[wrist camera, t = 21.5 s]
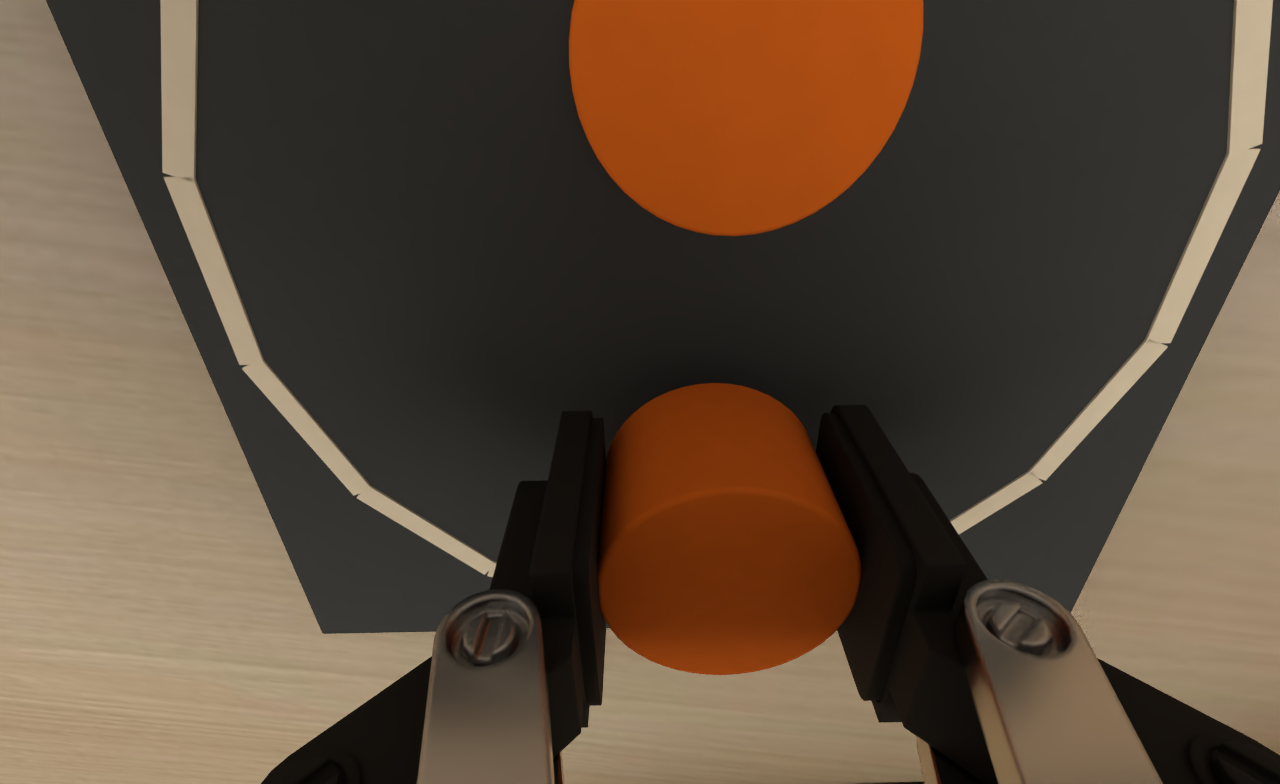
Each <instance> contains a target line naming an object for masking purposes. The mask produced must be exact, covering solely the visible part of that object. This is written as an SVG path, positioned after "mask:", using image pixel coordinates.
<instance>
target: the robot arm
mask: <svg viewBox="0 0 1280 784" xmlns="http://www.w3.org/2000/svg"><path fill="white" fill-rule="evenodd" d="M816 454H817V456H818V458H819V461H820V463H821V465H822V468H823V470H824V472H825V475H826V477H827V479H828V481H829V484H830V486H831V488H832V491H833V493H834V495H835V498H836V500H837V502H838V504H839V507H840V509H841V511H842V514H843V516H844V518H845V521H846V523H847V525H848V527H849V530H850V532H851V534H852V537H853V539H854V541H855V544H856V546H857V548H858V551H859V555H860V559H861V580H860V584H859V589H858V594H857V598H856V602H855V605H854V607H853V608H852V610H851V612H850V614H849V615H848V617H847V618H846V620H845V621H844V622H843V624H842V625H841V626H840V627H839V628H838V629H837V631H838V634H839V637H840V639H841V642H842V645H843V648H844V651H845V654H846V657H847V660H848V663H849V666H850V669H851V672H852V675H853V678H854V681H855V684H856V687H857V690H858V692H859V695H860V697H861V698H862V699H863V700H864V701H868V700H871V701H872V703H873V706H874V709H875V712H876V715H877V718H878V720H879V722H902V723H903V726H904V727H905V728H906V729H907V730H909V731H910V732H912V733H913V734H915V735H916V736H917V749H918V754H919V758H920V763H921V768H922V773H923V778H924V783H925V784H1280V756H1279V755H1278V754H1276V753H1275V752H1273V751H1272V750H1270V749H1268V748H1267V747H1265V746H1263V745H1262V744H1260V743H1258V742H1257V741H1255V740H1254V739H1252V738H1250V737H1248V736H1246V735H1244V734H1242V733H1240V732H1238V731H1236V730H1234V729H1232V728H1230V727H1229V726H1227V725H1225V724H1223V723H1221V722H1219V721H1217V720H1215V719H1213V718H1211V717H1209V716H1207V715H1205V714H1204V713H1202V712H1200V711H1198V710H1196V709H1194V708H1192V707H1190V706H1188V705H1186V704H1184V703H1182V702H1180V701H1179V700H1177V699H1175V698H1173V697H1171V696H1169V695H1167V694H1165V693H1163V692H1161V691H1159V690H1157V689H1155V688H1154V687H1152V686H1150V685H1148V684H1146V683H1144V682H1142V681H1140V680H1138V679H1136V678H1134V677H1132V676H1130V675H1129V674H1127V673H1125V672H1123V671H1121V670H1119V669H1117V668H1115V667H1113V666H1111V665H1109V664H1107V663H1105V662H1104V661H1102V660H1100V659H1098V658H1097V657H1096V655H1095V653H1094V651H1093V650H1092V648H1091V646H1090V644H1089V642H1088V640H1087V638H1086V636H1085V634H1084V632H1083V631H1082V629H1081V627H1080V625H1079V624H1078V623H1077V621H1076V620H1075V618H1074V617H1073V616H1072V614H1071V613H1070V612H1069V611H1068V610H1066V609H1065V608H1064V607H1063V606H1062V605H1061V604H1060V603H1059V602H1058V601H1056V600H1055V599H1053V598H1051V597H1050V596H1048V595H1046V594H1045V593H1043V592H1042V591H1040V590H1037V589H1035V588H1032V587H1030V586H1028V585H1025V584H1023V583H1018V582H1014V581H1009V580H996V579H989V580H988V579H987V577H986V576H985V574H984V573H983V571H982V570H981V568H980V567H979V565H978V563H977V562H976V560H975V559H974V557H973V556H972V554H971V553H970V551H969V550H968V548H967V547H966V545H965V543H964V542H963V540H962V539H961V537H960V536H959V534H958V533H957V531H956V530H955V528H954V527H953V525H952V524H951V522H950V520H949V519H948V517H947V516H946V514H945V513H944V511H943V510H942V508H941V507H940V505H939V504H938V502H937V501H936V499H935V497H934V496H933V494H932V493H931V491H930V490H929V488H928V487H927V485H926V484H925V482H924V481H923V479H922V478H921V477H920V476H919V475H918V474H915V473H909V471H908V470H907V468H906V466H905V465H904V463H903V462H902V460H901V458H900V457H899V455H898V454H897V452H896V451H895V449H894V447H893V446H892V444H891V443H890V441H889V439H888V438H887V436H886V435H885V433H884V432H883V430H882V428H881V427H880V425H879V424H878V422H877V420H876V419H875V417H874V416H873V414H872V413H871V411H870V409H869V408H868V407H867V406H866V405H835V406H833V408H832V410H831V413H823V414H822V417H821V421H820V427H819V434H818V440H817V447H816ZM605 470H606V451H605V435H604V421H603V418H593V415H592V411H563V412H562V414H561V419H560V423H559V428H558V433H557V438H556V443H555V448H554V453H553V458H552V462H551V467H550V472H549V477H548V480H540V481H521V482H520V483H519V484H518V487H517V490H516V493H515V497H514V501H513V504H512V508H511V512H510V515H509V519H508V523H507V527H506V530H505V534H504V538H503V541H502V545H501V549H500V552H499V556H498V560H497V563H496V567H495V571H494V574H493V578H492V582H491V586H490V589H489V590H486V591H482V592H479V593H475V594H473V595H471V596H469V597H467V598H465V599H463V600H462V601H460V602H458V603H457V604H456V605H455V606H454V607H453V608H452V609H450V610H449V611H448V612H447V613H446V615H445V616H444V618H443V619H442V621H441V622H440V624H439V625H438V628H437V631H436V635H435V638H434V644H433V653H432V657H430V658H429V659H427V660H426V661H425V662H423V663H422V664H420V665H419V666H417V667H416V668H415V669H413V670H412V671H410V672H409V673H407V674H406V675H404V676H403V677H402V678H400V679H399V680H397V681H396V682H394V683H393V684H392V685H390V686H389V687H387V688H386V689H384V690H383V691H382V692H380V693H379V694H377V695H376V696H374V697H373V698H371V699H370V700H369V701H367V702H366V703H364V704H363V705H361V706H360V707H359V708H357V709H356V710H354V711H353V712H351V713H350V714H349V715H347V716H346V717H344V718H343V719H341V720H340V721H338V722H337V723H336V724H334V725H333V726H331V727H330V728H328V729H327V730H326V731H324V732H323V733H321V734H320V735H318V736H317V737H315V738H314V739H313V740H311V741H310V742H308V743H307V744H305V745H304V746H303V747H301V748H300V749H298V750H297V751H295V752H294V753H293V754H291V755H290V756H288V757H287V758H286V759H285V760H284V761H283V762H281V763H280V764H279V765H278V766H277V767H275V768H274V769H273V770H272V771H271V772H270V773H269V774H268V776H267V777H266V778H265V779H264V781H263V782H262V783H261V784H564V774H563V762H562V750H563V749H564V748H565V747H566V746H567V745H568V744H569V743H570V742H571V741H573V740H574V739H575V738H576V737H577V736H578V735H579V734H580V733H581V727H588V718H589V705H601V704H602V692H603V673H604V655H605V636H606V620H605V619H604V617H603V614H602V612H601V607H600V596H599V583H598V563H599V550H600V537H601V523H602V510H603V497H604V484H605Z"/></svg>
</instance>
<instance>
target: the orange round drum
mask: <svg viewBox="0 0 1280 784" xmlns="http://www.w3.org/2000/svg"><path fill="white" fill-rule="evenodd" d="M860 580H861V559H860V555H859V551H858V548H857V546H856V544H855V541H854V539H853V537H852V534H851V532H850V530H849V527H848V525H847V523H846V521H845V518H844V516H843V514H842V511H841V509H840V507H839V504H838V502H837V500H836V498H835V495H834V493H833V491H832V488H831V486H830V484H829V481H828V479H827V477H826V475H825V472H824V470H823V468H822V465H821V463H820V461H819V458H818V456H817V454H816V452H815V449H814V447H813V445H812V442H811V440H810V438H809V436H808V434H807V431H806V429H805V428H804V426H803V425H802V423H801V422H800V420H799V419H798V418H797V417H796V416H795V415H794V414H793V412H792V411H791V410H790V409H788V408H787V407H786V406H785V405H783V404H782V403H781V402H779V401H778V400H776V399H774V398H772V397H771V396H769V395H767V394H764V393H762V392H760V391H757V390H755V389H752V388H748V387H744V386H740V385H734V384H727V383H705V384H696V385H690V386H685V387H681V388H678V389H675V390H672V391H669V392H667V393H664V394H662V395H660V396H658V397H656V398H654V399H653V400H651V401H649V402H648V403H646V404H644V405H643V406H642V407H641V408H639V409H638V410H637V411H635V412H634V413H633V414H632V415H631V416H630V417H629V418H628V419H627V420H626V421H625V422H624V424H623V425H622V426H621V428H620V429H619V430H618V432H617V433H616V435H615V437H614V439H613V440H612V442H611V445H610V447H609V450H608V453H607V457H606V470H605V484H604V497H603V510H602V523H601V537H600V550H599V563H598V583H599V596H600V607H601V612H602V614H603V617H604V619H605V620H606V622H607V624H608V625H609V627H610V629H611V630H612V631H613V632H614V633H615V635H616V636H617V637H618V638H619V639H620V640H621V641H622V642H623V643H624V644H625V645H627V646H628V647H629V648H631V649H632V650H633V651H635V652H636V653H638V654H639V655H641V656H643V657H645V658H647V659H649V660H651V661H653V662H655V663H658V664H660V665H663V666H666V667H669V668H673V669H676V670H681V671H686V672H691V673H699V674H711V675H727V674H741V673H748V672H754V671H759V670H763V669H768V668H771V667H774V666H777V665H780V664H783V663H786V662H788V661H791V660H793V659H795V658H798V657H800V656H801V655H803V654H805V653H807V652H809V651H811V650H812V649H814V648H815V647H817V646H818V645H820V644H821V643H823V642H824V641H825V640H826V639H827V638H829V637H830V636H831V635H832V634H833V633H834V632H835V631H836V630H837V629H838V628H839V627H840V626H841V625H842V624H843V622H844V621H845V620H846V618H847V617H848V615H849V614H850V612H851V610H852V608H853V607H854V605H855V602H856V598H857V594H858V589H859V584H860Z"/></svg>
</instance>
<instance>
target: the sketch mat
mask: <svg viewBox="0 0 1280 784" xmlns="http://www.w3.org/2000/svg"><path fill="white" fill-rule="evenodd" d="M46 1H47V4H48V6H49V8H50V11H51V13H52V15H53V17H54V20H55V22H56V24H57V27H58V29H59V31H60V34H61V36H62V38H63V40H64V43H65V45H66V47H67V50H68V52H69V54H70V56H71V59H72V61H73V63H74V66H75V68H76V70H77V72H78V75H79V77H80V79H81V82H82V84H83V86H84V88H85V91H86V93H87V95H88V98H89V100H90V102H91V104H92V107H93V109H94V111H95V114H96V116H97V118H98V120H99V123H100V125H101V127H102V130H103V132H104V134H105V136H106V139H107V141H108V143H109V146H110V148H111V150H112V152H113V155H114V157H115V159H116V162H117V164H118V166H119V168H120V171H121V173H122V175H123V178H124V180H125V182H126V185H127V187H128V189H129V191H130V194H131V196H132V198H133V201H134V203H135V205H136V207H137V210H138V212H139V214H140V217H141V219H142V221H143V223H144V226H145V228H146V230H147V233H148V235H149V237H150V239H151V242H152V244H153V246H154V249H155V251H156V253H157V255H158V258H159V260H160V262H161V265H162V267H163V269H164V271H165V274H166V276H167V278H168V281H169V283H170V285H171V287H172V290H173V292H174V294H175V297H176V299H177V301H178V303H179V306H180V308H181V310H182V313H183V315H184V317H185V320H186V322H187V324H188V326H189V329H190V331H191V333H192V336H193V338H194V340H195V342H196V345H197V347H198V349H199V352H200V354H201V356H202V358H203V361H204V363H205V365H206V368H207V370H208V372H209V374H210V377H211V379H212V381H213V384H214V386H215V388H216V390H217V393H218V395H219V397H220V400H221V402H222V404H223V406H224V409H225V411H226V413H227V416H228V418H229V420H230V422H231V425H232V427H233V429H234V432H235V434H236V436H237V438H238V441H239V443H240V445H241V448H242V450H243V452H244V454H245V457H246V459H247V461H248V464H249V466H250V468H251V471H252V473H253V475H254V477H255V480H256V482H257V484H258V487H259V489H260V491H261V493H262V496H263V498H264V500H265V503H266V505H267V507H268V509H269V512H270V514H271V516H272V519H273V521H274V523H275V525H276V528H277V530H278V532H279V535H280V537H281V539H282V541H283V544H284V546H285V548H286V551H287V553H288V555H289V557H290V560H291V562H292V564H293V567H294V569H295V571H296V573H297V576H298V578H299V580H300V583H301V585H302V587H303V589H304V592H305V594H306V596H307V599H308V601H309V603H310V605H311V608H312V610H313V612H314V615H315V617H316V619H317V622H318V624H319V626H320V628H321V631H322V633H324V634H330V633H380V632H430V631H437V628H438V625H439V624H440V622H441V621H442V619H443V618H444V616H445V615H446V613H447V612H448V611H449V610H450V609H452V608H453V607H454V606H455V605H456V604H457V603H458V602H460V601H462V600H463V599H465V598H467V597H469V596H471V595H473V594H475V593H479V592H482V591H486V590H489V589H490V586H491V582H492V578H493V574H494V571H495V567H496V563H497V560H498V556H499V552H500V549H501V545H502V541H503V538H504V534H505V530H506V527H507V523H508V519H509V515H510V512H511V508H512V504H513V501H514V497H515V493H516V490H517V487H518V484H519V483H520V482H521V481H540V480H548V477H549V472H550V467H551V462H552V458H553V453H554V448H555V443H556V438H557V433H558V428H559V423H560V419H561V414H562V412H563V411H592V415H593V418H603V421H604V435H605V451H606V457H607V453H608V450H609V447H610V445H611V442H612V440H613V439H614V437H615V435H616V433H617V432H618V430H619V429H620V428H621V426H622V425H623V424H624V422H625V421H626V420H627V419H628V418H629V417H630V416H631V415H632V414H633V413H634V412H635V411H637V410H638V409H639V408H641V407H642V406H643V405H644V404H646V403H648V402H649V401H651V400H653V399H654V398H656V397H658V396H660V395H662V394H664V393H667V392H669V391H672V390H675V389H678V388H681V387H685V386H690V385H696V384H705V383H727V384H734V385H740V386H744V387H748V388H752V389H755V390H757V391H760V392H762V393H764V394H767V395H769V396H771V397H772V398H774V399H776V400H778V401H779V402H781V403H782V404H783V405H785V406H786V407H787V408H788V409H790V410H791V411H792V412H793V414H794V415H795V416H796V417H797V418H798V419H799V420H800V422H801V423H802V425H803V426H804V428H805V429H806V431H807V434H808V436H809V438H810V440H811V442H812V445H813V447H814V449H815V452H816V447H817V440H818V434H819V427H820V421H821V417H822V414H823V413H831V410H832V408H833V406H835V405H866V406H867V407H868V408H869V409H870V411H871V413H872V414H873V416H874V417H875V419H876V420H877V422H878V424H879V425H880V427H881V428H882V430H883V432H884V433H885V435H886V436H887V438H888V439H889V441H890V443H891V444H892V446H893V447H894V449H895V451H896V452H897V454H898V455H899V457H900V458H901V460H902V462H903V463H904V465H905V466H906V468H907V470H908V471H909V473H915V474H918V475H919V476H920V477H921V478H922V479H923V481H924V482H925V484H926V485H927V487H928V488H929V490H930V491H931V493H932V494H933V496H934V497H935V499H936V501H937V502H938V504H939V505H940V507H941V508H942V510H943V511H944V513H945V514H946V516H947V517H948V519H949V520H950V522H951V524H952V525H953V527H954V528H955V530H956V531H957V533H958V534H959V536H960V537H961V539H962V540H963V542H964V543H965V545H966V547H967V548H968V550H969V551H970V553H971V554H972V556H973V557H974V559H975V560H976V562H977V563H978V565H979V567H980V568H981V570H982V571H983V573H984V574H985V576H986V577H987V579H988V580H989V579H996V580H1009V581H1014V582H1018V583H1023V584H1025V585H1028V586H1030V587H1032V588H1035V589H1037V590H1040V591H1042V592H1043V593H1045V594H1046V595H1048V596H1050V597H1051V598H1053V599H1055V600H1056V601H1058V602H1059V603H1060V604H1061V605H1062V606H1063V607H1064V608H1065V609H1066V610H1068V611H1069V612H1070V613H1071V611H1072V609H1073V607H1074V605H1075V603H1076V601H1077V599H1078V597H1079V595H1080V593H1081V591H1082V589H1083V587H1084V585H1085V582H1086V580H1087V578H1088V576H1089V574H1090V572H1091V570H1092V568H1093V566H1094V564H1095V562H1096V560H1097V558H1098V556H1099V554H1100V552H1101V550H1102V548H1103V546H1104V544H1105V542H1106V540H1107V538H1108V536H1109V534H1110V532H1111V530H1112V528H1113V526H1114V524H1115V522H1116V520H1117V518H1118V516H1119V514H1120V512H1121V510H1122V508H1123V506H1124V504H1125V502H1126V500H1127V498H1128V496H1129V494H1130V492H1131V490H1132V488H1133V486H1134V484H1135V482H1136V480H1137V477H1138V475H1139V473H1140V471H1141V469H1142V467H1143V465H1144V463H1145V461H1146V459H1147V457H1148V455H1149V453H1150V451H1151V449H1152V447H1153V445H1154V443H1155V441H1156V439H1157V437H1158V435H1159V433H1160V431H1161V429H1162V427H1163V425H1164V423H1165V421H1166V419H1167V417H1168V415H1169V413H1170V411H1171V409H1172V407H1173V405H1174V403H1175V401H1176V399H1177V397H1178V395H1179V393H1180V391H1181V389H1182V387H1183V385H1184V383H1185V381H1186V379H1187V377H1188V374H1189V372H1190V370H1191V368H1192V366H1193V364H1194V362H1195V360H1196V358H1197V356H1198V354H1199V352H1200V350H1201V348H1202V346H1203V344H1204V342H1205V340H1206V338H1207V336H1208V334H1209V332H1210V330H1211V328H1212V326H1213V324H1214V322H1215V320H1216V318H1217V316H1218V314H1219V312H1220V310H1221V308H1222V306H1223V304H1224V302H1225V300H1226V298H1227V296H1228V294H1229V292H1230V290H1231V288H1232V286H1233V284H1234V282H1235V280H1236V278H1237V276H1238V274H1239V272H1240V269H1241V267H1242V265H1243V263H1244V261H1245V259H1246V257H1247V255H1248V253H1249V251H1250V249H1251V247H1252V245H1253V243H1254V241H1255V239H1256V237H1257V235H1258V233H1259V231H1260V229H1261V227H1262V225H1263V223H1264V221H1265V219H1266V217H1267V215H1268V213H1269V211H1270V209H1271V207H1272V205H1273V203H1274V201H1275V199H1276V197H1277V195H1278V193H1279V191H1280V0H923V36H922V44H921V52H920V59H919V63H918V67H917V71H916V75H915V79H914V83H913V86H912V89H911V92H910V94H909V97H908V100H907V103H906V106H905V108H904V110H903V112H902V114H901V116H900V118H899V121H898V123H897V125H896V127H895V129H894V131H893V132H892V134H891V136H890V137H889V139H888V140H887V142H886V144H885V145H884V147H883V148H882V150H881V152H880V153H879V154H878V155H877V157H876V158H875V159H874V161H873V162H872V163H871V164H870V166H869V167H868V168H867V169H866V171H865V172H864V173H863V174H862V175H861V176H860V177H859V178H858V179H857V180H856V181H855V182H854V183H853V184H852V185H851V186H850V187H849V188H848V189H847V190H845V191H844V192H843V193H842V194H841V195H839V196H838V197H837V198H836V199H834V200H833V201H832V202H830V203H829V204H827V205H826V206H824V207H823V208H821V209H820V210H818V211H817V212H815V213H813V214H812V215H810V216H807V217H805V218H803V219H801V220H799V221H797V222H795V223H793V224H790V225H787V226H784V227H782V228H779V229H776V230H772V231H768V232H763V233H759V234H754V235H742V236H717V235H709V234H703V233H698V232H693V231H690V230H687V229H684V228H681V227H678V226H675V225H673V224H671V223H669V222H666V221H664V220H662V219H660V218H658V217H656V216H655V215H653V214H652V213H650V212H649V211H647V210H646V209H644V208H642V207H641V206H640V205H638V204H637V203H636V202H635V201H634V200H633V199H631V198H630V197H629V196H628V195H627V194H626V193H624V191H623V190H622V189H621V188H620V187H619V186H618V185H617V184H616V183H615V181H614V180H613V179H612V178H611V177H610V176H609V174H608V173H607V171H606V170H605V168H604V167H603V166H602V164H601V163H600V161H599V160H598V158H597V156H596V155H595V153H594V151H593V149H592V147H591V145H590V143H589V141H588V139H587V137H586V134H585V132H584V129H583V127H582V124H581V121H580V119H579V116H578V112H577V108H576V104H575V100H574V96H573V92H572V85H571V77H570V69H569V33H570V23H571V13H572V9H573V4H574V0H46ZM606 628H610V627H609V625H608V624H607V622H606Z"/></svg>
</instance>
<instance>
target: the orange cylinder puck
mask: <svg viewBox="0 0 1280 784" xmlns="http://www.w3.org/2000/svg"><path fill="white" fill-rule="evenodd" d="M922 36H923V0H574V4H573V9H572V13H571V23H570V33H569V69H570V77H571V85H572V92H573V96H574V100H575V104H576V108H577V112H578V116H579V119H580V121H581V124H582V127H583V129H584V132H585V134H586V137H587V139H588V141H589V143H590V145H591V147H592V149H593V151H594V153H595V155H596V156H597V158H598V160H599V161H600V163H601V164H602V166H603V167H604V168H605V170H606V171H607V173H608V174H609V176H610V177H611V178H612V179H613V180H614V181H615V183H616V184H617V185H618V186H619V187H620V188H621V189H622V190H623V191H624V193H626V194H627V195H628V196H629V197H630V198H631V199H633V200H634V201H635V202H636V203H637V204H638V205H640V206H641V207H642V208H644V209H646V210H647V211H649V212H650V213H652V214H653V215H655V216H656V217H658V218H660V219H662V220H664V221H666V222H669V223H671V224H673V225H675V226H678V227H681V228H684V229H687V230H690V231H693V232H698V233H703V234H709V235H717V236H742V235H754V234H759V233H763V232H768V231H772V230H776V229H779V228H782V227H784V226H787V225H790V224H793V223H795V222H797V221H799V220H801V219H803V218H805V217H807V216H810V215H812V214H813V213H815V212H817V211H818V210H820V209H821V208H823V207H824V206H826V205H827V204H829V203H830V202H832V201H833V200H834V199H836V198H837V197H838V196H839V195H841V194H842V193H843V192H844V191H845V190H847V189H848V188H849V187H850V186H851V185H852V184H853V183H854V182H855V181H856V180H857V179H858V178H859V177H860V176H861V175H862V174H863V173H864V172H865V171H866V169H867V168H868V167H869V166H870V164H871V163H872V162H873V161H874V159H875V158H876V157H877V155H878V154H879V153H880V152H881V150H882V148H883V147H884V145H885V144H886V142H887V140H888V139H889V137H890V136H891V134H892V132H893V131H894V129H895V127H896V125H897V123H898V121H899V118H900V116H901V114H902V112H903V110H904V108H905V106H906V103H907V100H908V97H909V94H910V92H911V89H912V86H913V83H914V79H915V75H916V71H917V67H918V63H919V59H920V52H921V44H922Z"/></svg>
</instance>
